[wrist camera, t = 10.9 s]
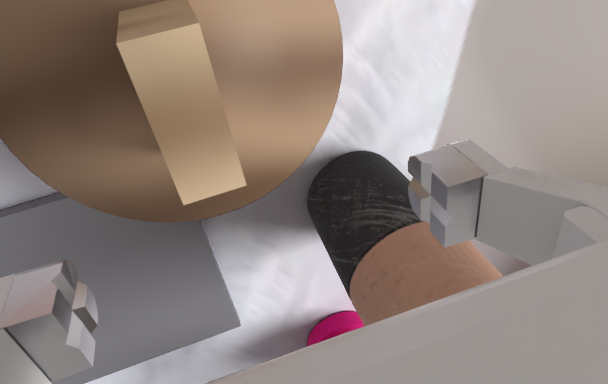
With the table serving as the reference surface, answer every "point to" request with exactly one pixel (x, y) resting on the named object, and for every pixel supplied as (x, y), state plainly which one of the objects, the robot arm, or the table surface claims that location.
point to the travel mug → (386, 240)
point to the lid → (167, 98)
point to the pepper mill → (334, 326)
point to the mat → (124, 277)
